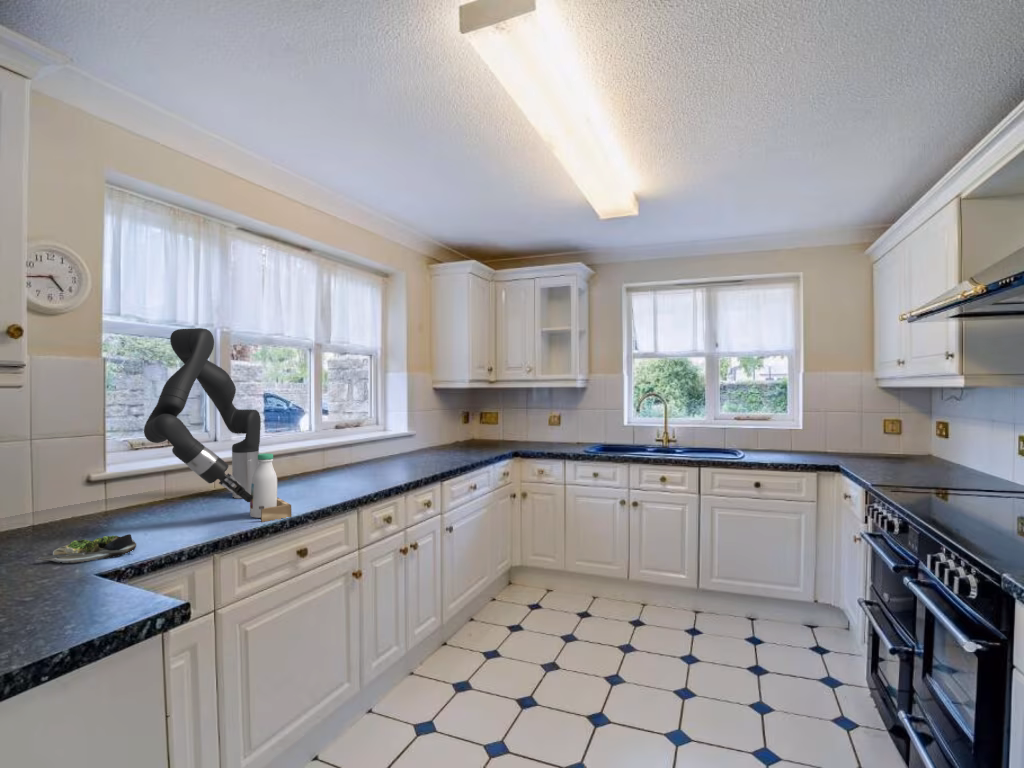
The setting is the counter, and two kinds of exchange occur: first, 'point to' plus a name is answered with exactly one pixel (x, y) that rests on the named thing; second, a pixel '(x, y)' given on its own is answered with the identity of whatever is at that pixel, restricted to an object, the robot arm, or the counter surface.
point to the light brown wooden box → (275, 511)
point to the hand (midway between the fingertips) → (250, 499)
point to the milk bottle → (263, 485)
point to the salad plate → (92, 549)
